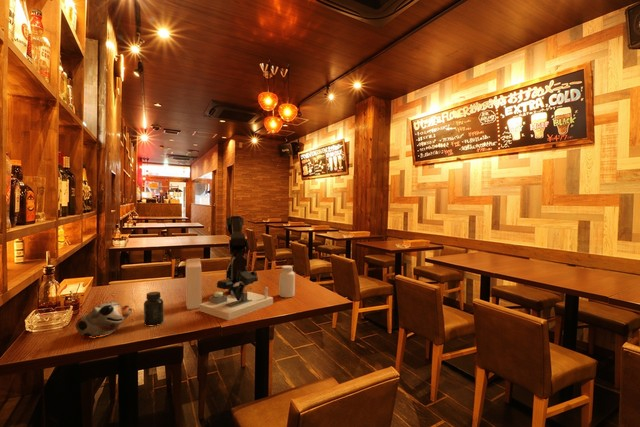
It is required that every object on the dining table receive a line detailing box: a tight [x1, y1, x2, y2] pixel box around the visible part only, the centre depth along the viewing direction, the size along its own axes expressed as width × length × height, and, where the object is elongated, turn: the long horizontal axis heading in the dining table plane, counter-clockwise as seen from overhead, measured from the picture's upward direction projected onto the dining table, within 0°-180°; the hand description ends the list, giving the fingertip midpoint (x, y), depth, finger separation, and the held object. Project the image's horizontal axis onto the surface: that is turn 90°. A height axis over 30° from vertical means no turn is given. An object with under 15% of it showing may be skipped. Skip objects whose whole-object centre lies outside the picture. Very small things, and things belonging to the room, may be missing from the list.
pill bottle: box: [278, 265, 296, 299], centre depth 166 cm, size 8×8×15 cm
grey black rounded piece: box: [75, 301, 133, 338], centre depth 119 cm, size 15×12×14 cm
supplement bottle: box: [143, 291, 165, 326], centre depth 128 cm, size 7×7×12 cm
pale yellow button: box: [213, 291, 224, 298], centre depth 146 cm, size 4×4×2 cm
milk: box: [185, 257, 203, 310], centre depth 148 cm, size 6×6×22 cm
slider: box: [240, 289, 249, 302], centre depth 146 cm, size 3×2×4 cm
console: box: [199, 286, 274, 322], centre depth 147 cm, size 19×26×8 cm
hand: (238, 300), depth 144 cm, fingers closed
